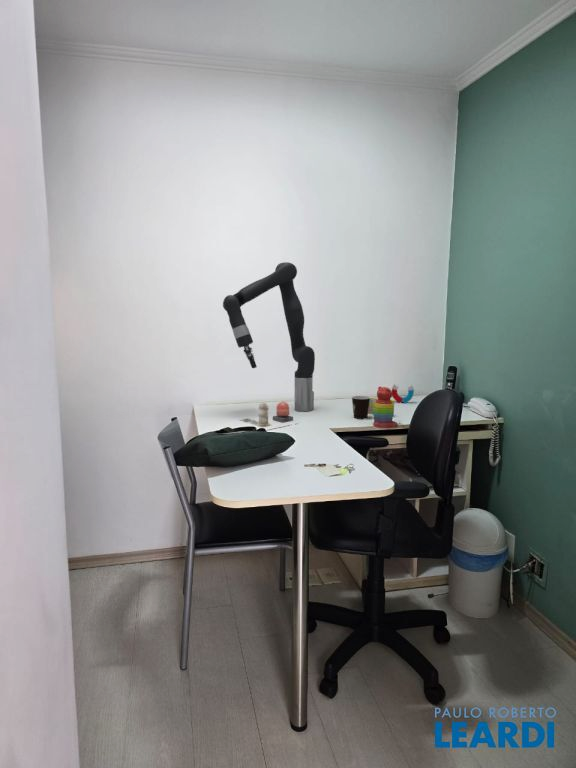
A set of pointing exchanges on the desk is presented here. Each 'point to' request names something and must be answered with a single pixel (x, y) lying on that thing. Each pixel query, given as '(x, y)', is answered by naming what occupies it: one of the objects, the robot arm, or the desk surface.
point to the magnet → (402, 399)
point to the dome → (282, 409)
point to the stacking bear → (384, 409)
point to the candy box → (371, 405)
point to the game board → (275, 418)
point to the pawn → (263, 415)
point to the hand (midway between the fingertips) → (254, 367)
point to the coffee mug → (360, 406)
